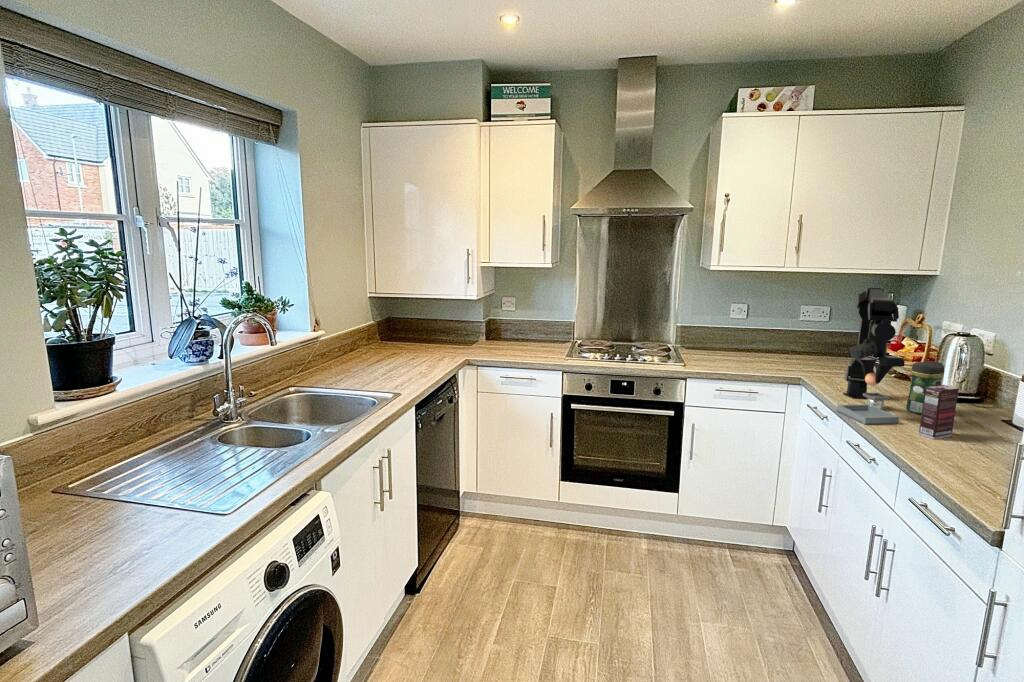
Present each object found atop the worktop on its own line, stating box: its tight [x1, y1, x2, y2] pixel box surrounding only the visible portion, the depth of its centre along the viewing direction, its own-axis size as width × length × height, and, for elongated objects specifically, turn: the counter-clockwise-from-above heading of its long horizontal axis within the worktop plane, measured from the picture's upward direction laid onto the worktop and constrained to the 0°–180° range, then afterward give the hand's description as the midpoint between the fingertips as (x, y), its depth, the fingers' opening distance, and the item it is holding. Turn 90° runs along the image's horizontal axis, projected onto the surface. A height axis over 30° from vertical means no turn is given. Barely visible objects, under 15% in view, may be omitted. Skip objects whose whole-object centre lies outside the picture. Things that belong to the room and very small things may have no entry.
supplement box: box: [918, 384, 960, 440], centre depth 170 cm, size 9×5×16 cm, turn 109°
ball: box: [865, 372, 880, 387], centre depth 186 cm, size 4×4×4 cm
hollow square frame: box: [863, 392, 891, 411], centre depth 199 cm, size 6×6×5 cm
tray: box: [836, 403, 900, 426], centre depth 188 cm, size 14×12×2 cm
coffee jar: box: [905, 360, 945, 415], centre depth 194 cm, size 10×8×19 cm
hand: (872, 381), depth 186 cm, fingers closed on ball, 4 cm apart
